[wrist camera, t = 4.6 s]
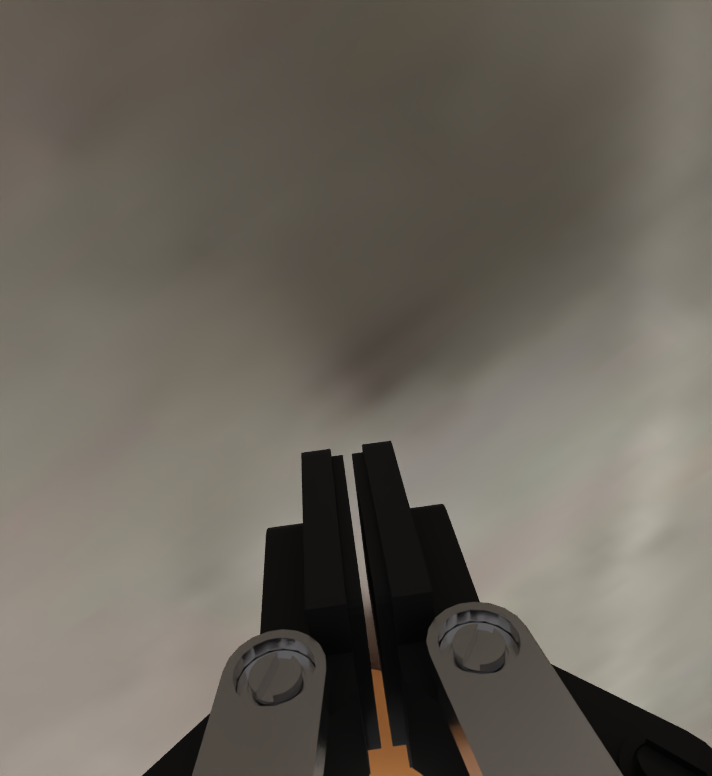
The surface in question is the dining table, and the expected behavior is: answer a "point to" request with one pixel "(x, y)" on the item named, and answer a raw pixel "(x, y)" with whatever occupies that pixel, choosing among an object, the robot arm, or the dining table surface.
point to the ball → (387, 740)
